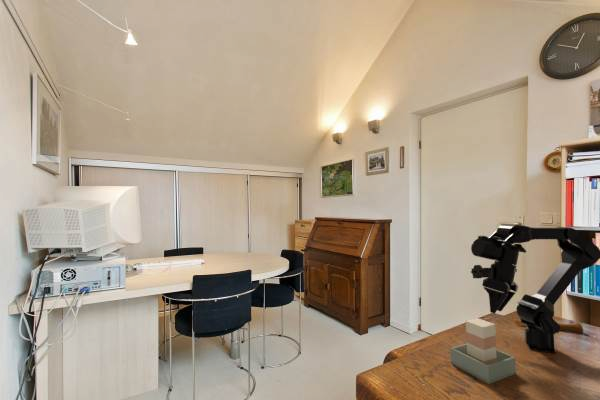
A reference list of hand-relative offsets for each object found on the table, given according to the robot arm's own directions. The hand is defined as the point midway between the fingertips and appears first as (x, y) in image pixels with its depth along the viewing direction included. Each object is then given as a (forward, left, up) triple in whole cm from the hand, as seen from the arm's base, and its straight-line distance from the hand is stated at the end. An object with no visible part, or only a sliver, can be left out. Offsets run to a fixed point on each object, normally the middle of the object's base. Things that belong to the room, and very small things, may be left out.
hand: (495, 311), depth 90 cm
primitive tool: (-18, -27, -13) cm, 35 cm away
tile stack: (+5, +14, -11) cm, 19 cm away
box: (+5, +14, -12) cm, 19 cm away
